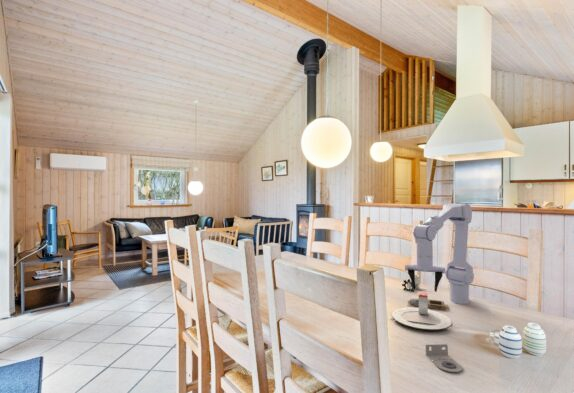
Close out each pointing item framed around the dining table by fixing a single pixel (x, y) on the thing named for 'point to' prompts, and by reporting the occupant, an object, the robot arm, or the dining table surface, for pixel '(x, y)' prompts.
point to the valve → (412, 284)
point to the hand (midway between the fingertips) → (424, 289)
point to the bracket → (443, 363)
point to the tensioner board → (430, 304)
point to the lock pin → (423, 303)
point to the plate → (398, 313)
